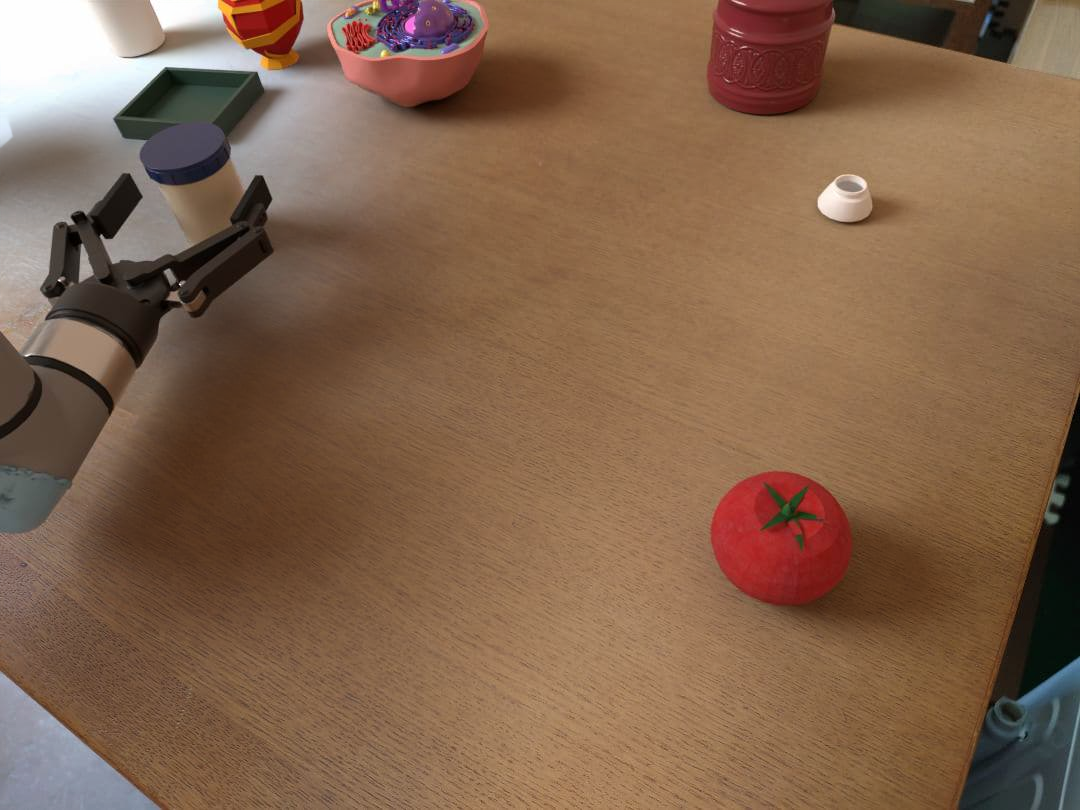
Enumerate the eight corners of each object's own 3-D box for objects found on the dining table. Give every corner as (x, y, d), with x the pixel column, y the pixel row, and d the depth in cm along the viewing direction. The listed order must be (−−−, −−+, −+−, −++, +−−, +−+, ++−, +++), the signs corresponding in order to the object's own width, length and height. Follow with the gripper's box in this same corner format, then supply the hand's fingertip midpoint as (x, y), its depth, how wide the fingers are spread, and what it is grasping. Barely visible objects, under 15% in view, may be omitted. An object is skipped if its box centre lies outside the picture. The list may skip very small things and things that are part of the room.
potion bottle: (324, 67, 102) (287, -57, 90) (245, 87, 100) (197, -38, 88) (311, 34, 108) (275, -87, 97) (237, 51, 106) (191, -69, 95)
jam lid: (131, 182, 72) (122, 166, 70) (174, 135, 76) (166, 119, 75) (206, 188, 70) (198, 172, 69) (245, 140, 75) (238, 124, 73)
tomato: (825, 644, 49) (856, 588, 43) (690, 598, 52) (700, 539, 46) (848, 529, 54) (878, 465, 48) (723, 492, 57) (737, 427, 51)
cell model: (390, 47, 104) (369, -44, 95) (522, 71, 97) (513, -24, 89) (314, 112, 95) (283, 18, 86) (454, 143, 88) (436, 45, 80)
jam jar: (179, 257, 79) (129, 169, 71) (213, 213, 83) (170, 125, 75) (242, 264, 78) (199, 175, 69) (273, 219, 82) (236, 130, 74)
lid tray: (123, 137, 94) (112, 118, 92) (174, 85, 102) (165, 66, 100) (219, 145, 92) (210, 125, 90) (264, 91, 99) (257, 71, 97)
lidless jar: (817, 223, 75) (871, 227, 74) (823, 198, 73) (879, 201, 72) (816, 192, 78) (868, 195, 77) (822, 166, 76) (876, 169, 75)
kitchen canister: (723, 53, 97) (741, -109, 83) (829, 68, 93) (867, -99, 79) (690, 106, 90) (705, -61, 76) (804, 125, 85) (841, -47, 72)
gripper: (-20, 371, 66) (99, 215, 79) (255, 386, 63) (332, 220, 76) (-80, 307, 60) (59, 150, 73) (218, 320, 57) (308, 153, 70)
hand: (198, 185), depth 75 cm, fingers open, 13 cm apart
